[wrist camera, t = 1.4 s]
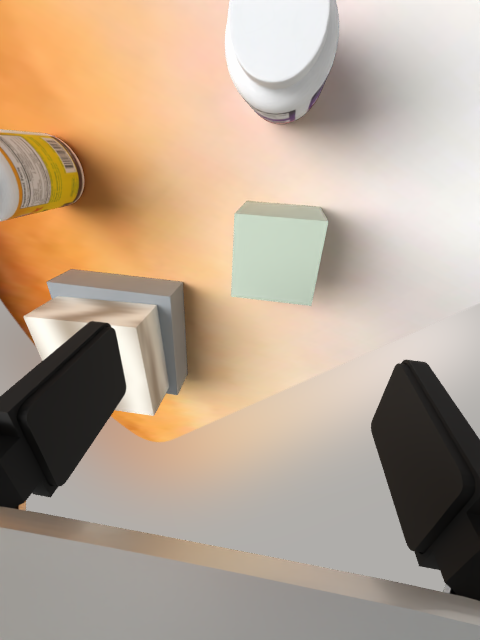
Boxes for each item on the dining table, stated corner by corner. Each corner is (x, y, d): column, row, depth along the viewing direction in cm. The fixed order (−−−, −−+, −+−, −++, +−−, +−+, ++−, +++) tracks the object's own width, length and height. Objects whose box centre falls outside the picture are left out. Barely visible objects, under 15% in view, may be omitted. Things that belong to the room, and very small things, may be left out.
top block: (156, 304, 26) (136, 327, 22) (169, 386, 31) (153, 415, 27) (57, 296, 27) (23, 316, 24) (84, 376, 32) (60, 402, 29)
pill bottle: (301, -3, 17) (310, -150, 9) (338, 89, 19) (375, 38, 11) (229, 64, 19) (182, -4, 11) (269, 142, 21) (255, 133, 13)
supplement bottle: (27, 189, 26) (-107, 206, 17) (27, 121, 23) (-134, 99, 14) (85, 215, 26) (-18, 245, 18) (91, 151, 24) (-26, 149, 15)
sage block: (320, 206, 23) (328, 221, 18) (307, 276, 26) (311, 305, 21) (246, 200, 24) (234, 213, 19) (242, 269, 27) (231, 296, 22)
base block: (184, 279, 29) (170, 296, 25) (188, 371, 35) (177, 395, 31) (74, 267, 30) (46, 281, 27) (97, 357, 36) (76, 379, 33)
